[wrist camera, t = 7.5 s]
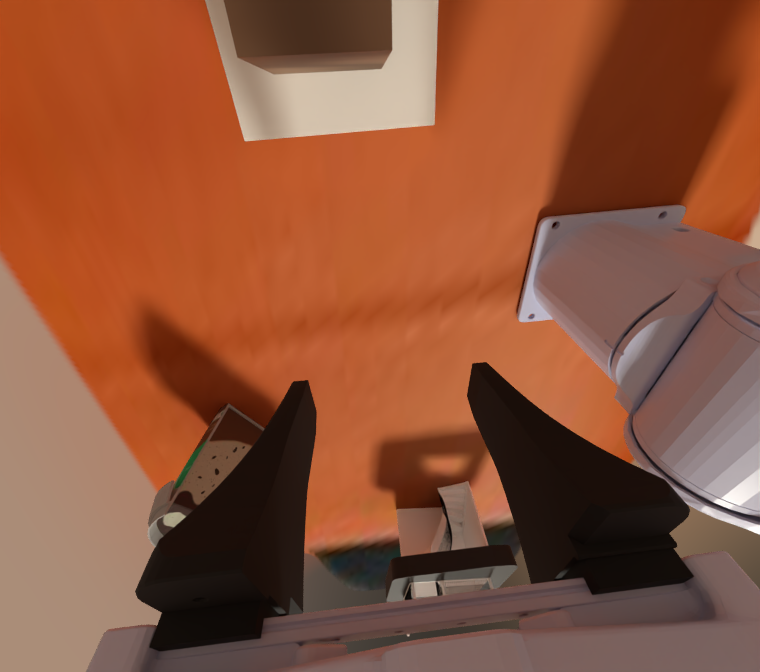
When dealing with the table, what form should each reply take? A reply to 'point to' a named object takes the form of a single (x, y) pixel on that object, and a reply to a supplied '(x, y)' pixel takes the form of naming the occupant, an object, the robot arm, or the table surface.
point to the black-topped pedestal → (445, 550)
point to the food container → (203, 469)
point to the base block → (338, 84)
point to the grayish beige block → (311, 34)
